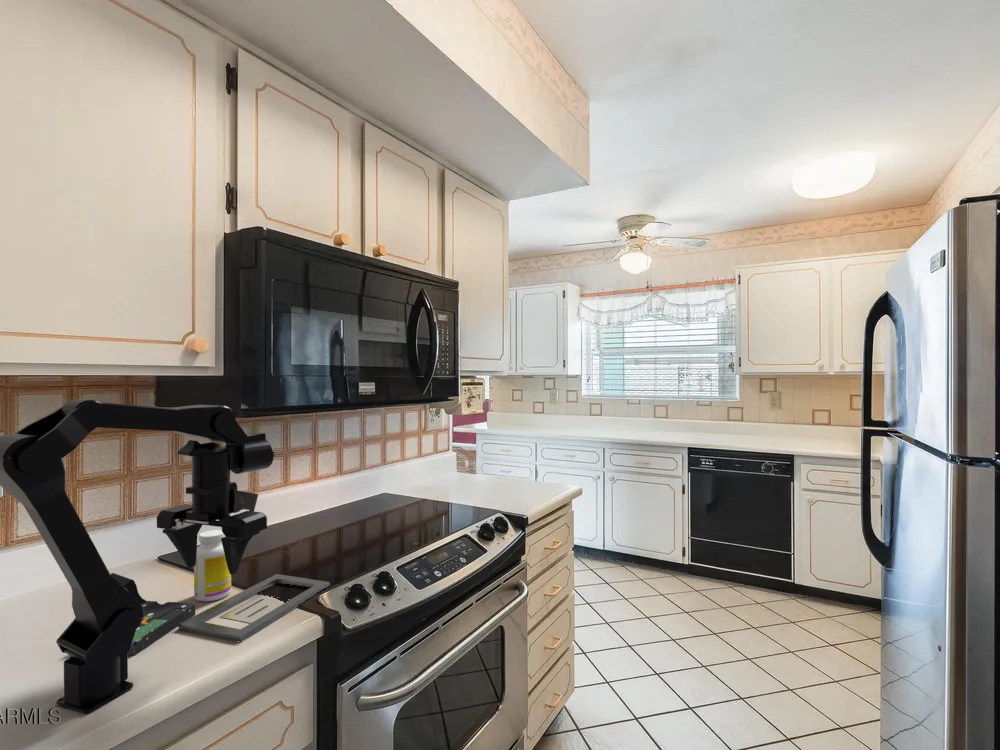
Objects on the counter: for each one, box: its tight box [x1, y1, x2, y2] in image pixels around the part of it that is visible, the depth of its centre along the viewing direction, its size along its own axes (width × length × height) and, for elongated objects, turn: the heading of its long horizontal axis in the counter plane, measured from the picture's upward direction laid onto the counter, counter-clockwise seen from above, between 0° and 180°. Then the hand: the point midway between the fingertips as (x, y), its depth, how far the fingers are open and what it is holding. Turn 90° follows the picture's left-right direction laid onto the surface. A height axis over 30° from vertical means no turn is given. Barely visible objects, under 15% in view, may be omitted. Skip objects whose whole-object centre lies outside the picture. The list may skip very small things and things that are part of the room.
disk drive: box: [128, 600, 196, 657], centre depth 93 cm, size 10×3×15 cm
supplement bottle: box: [193, 529, 232, 602], centre depth 107 cm, size 7×7×13 cm
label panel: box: [177, 573, 331, 643], centre depth 103 cm, size 24×14×1 cm, turn 161°
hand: (212, 570), depth 89 cm, fingers open, 9 cm apart
